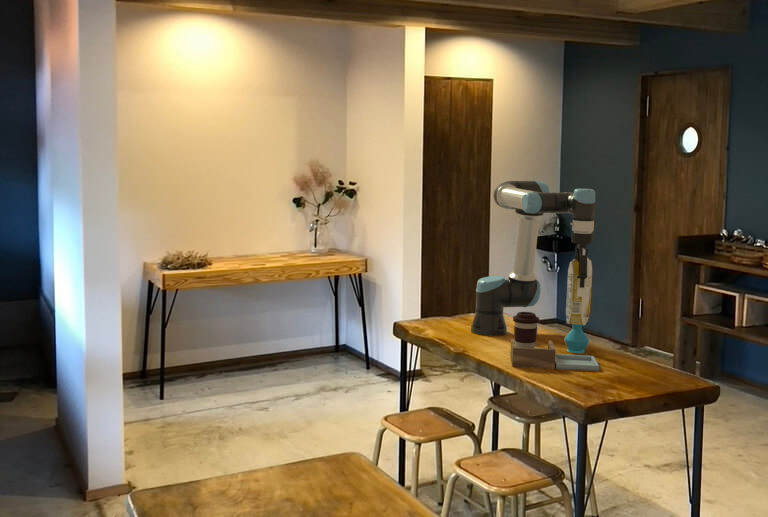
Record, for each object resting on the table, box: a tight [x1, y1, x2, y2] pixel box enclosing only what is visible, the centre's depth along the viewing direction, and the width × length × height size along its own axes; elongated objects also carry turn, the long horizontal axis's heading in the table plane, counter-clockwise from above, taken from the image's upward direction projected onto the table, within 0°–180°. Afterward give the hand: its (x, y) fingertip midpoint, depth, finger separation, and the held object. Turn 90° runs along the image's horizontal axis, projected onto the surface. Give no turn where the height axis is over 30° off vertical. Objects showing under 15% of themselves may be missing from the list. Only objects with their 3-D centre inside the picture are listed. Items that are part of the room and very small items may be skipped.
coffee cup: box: [512, 311, 540, 348], centre depth 331 cm, size 10×10×15 cm
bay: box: [509, 338, 557, 370], centre depth 315 cm, size 14×15×7 cm
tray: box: [555, 353, 600, 372], centre depth 313 cm, size 14×15×2 cm
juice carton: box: [565, 257, 593, 326], centre depth 310 cm, size 9×8×24 cm
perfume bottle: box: [563, 324, 589, 354], centre depth 333 cm, size 9×9×15 cm
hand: (578, 293), depth 310 cm, fingers closed on juice carton, 10 cm apart
